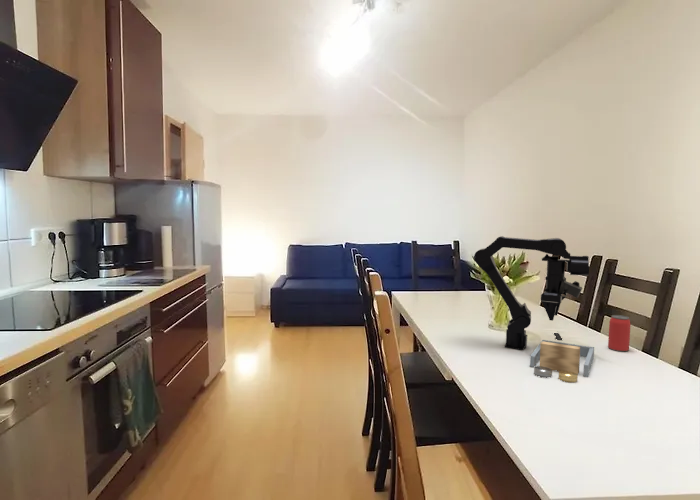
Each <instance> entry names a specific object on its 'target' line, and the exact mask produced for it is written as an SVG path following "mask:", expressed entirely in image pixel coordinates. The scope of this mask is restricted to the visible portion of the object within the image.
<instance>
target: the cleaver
mask: <svg viewBox="0 0 700 500" xmlns="http://www.w3.org/2000/svg"><path fill="white" fill-rule="evenodd" d="M553 336H554V340H556V339H557V341H563V340H562V339H563V337H562V336H561V334H560V333H559V332H558V333H554V334H553ZM555 336H556V337H555ZM561 337H562V338H561Z"/></svg>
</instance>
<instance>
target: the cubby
mask: <svg viewBox="0 0 700 500" xmlns="http://www.w3.org/2000/svg"><path fill="white" fill-rule="evenodd" d="M542 341H544V342H551V343H557V344H564V345H571V346H578V347H580V357H582V356H584V357H583V358H585V359H584V360H585V361H584V364H583V373H582V374H583V375H582V376H583V377H586V378H588V377H589V374H590V371H591V368H592V365H591V364H593V361H594V357H595V356H594V355H595V347H594V346H587V345H580V344H575V343H566V342H562V341H553V340H547V339H542V340H541V341H540V343H538V345H537V346H536V348H535V349H534V351H533V352H532V353H531V354H530V357H529V359H530V360H529V367H530V368H534V366H535V367H536V365H537V364H538V362H539V361H540V345H541V342H542ZM538 360H539V361H538ZM536 363H537V364H536Z"/></svg>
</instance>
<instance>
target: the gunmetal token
mask: <svg viewBox="0 0 700 500" xmlns="http://www.w3.org/2000/svg"><path fill="white" fill-rule="evenodd" d="M534 374H535V375H534ZM533 375H534V376H536V375H537V376H536V377H538V376H540V377H539V378H542V377H546V378H545V379H548V378H547V377H550V378H552V377H553V370H552V369H550V368H548V367H542V366H540V365H539V366H535V367H533ZM551 376H552V377H551Z"/></svg>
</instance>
